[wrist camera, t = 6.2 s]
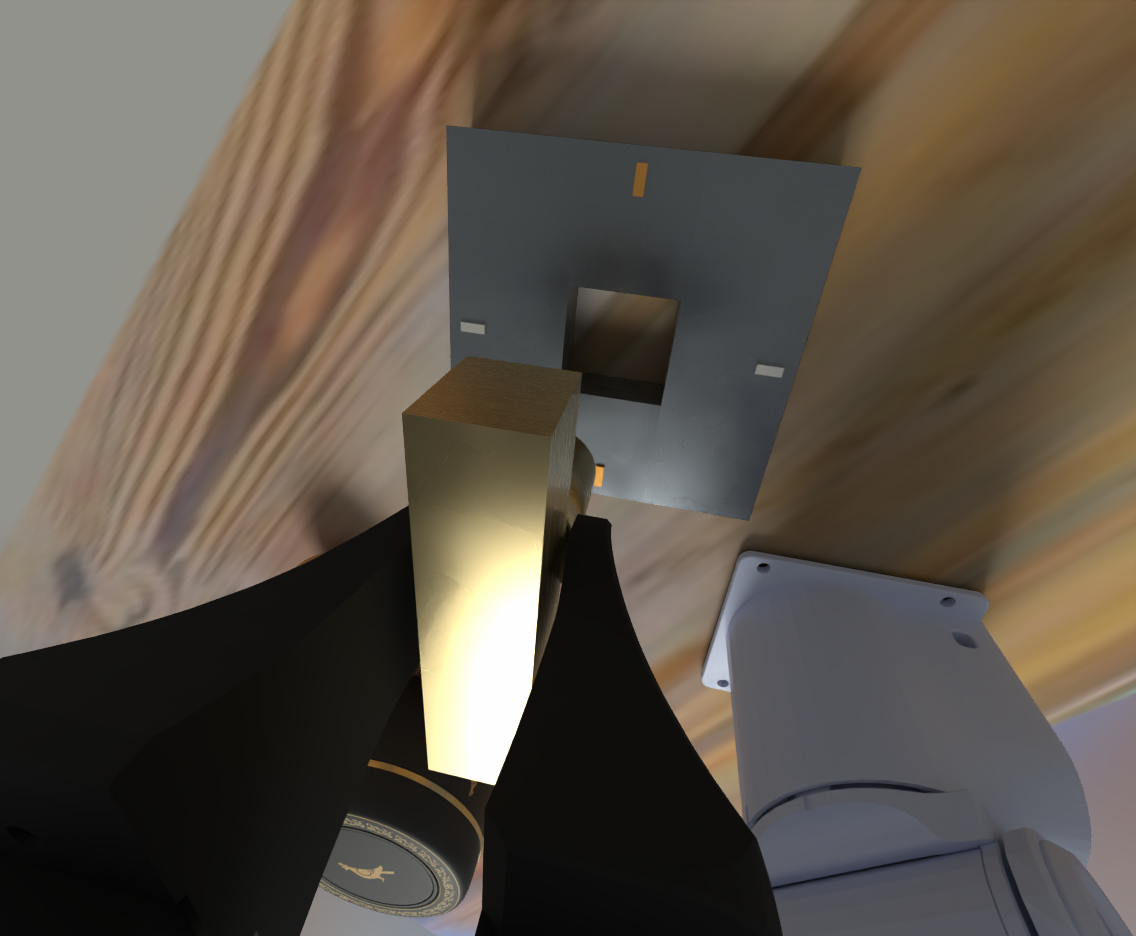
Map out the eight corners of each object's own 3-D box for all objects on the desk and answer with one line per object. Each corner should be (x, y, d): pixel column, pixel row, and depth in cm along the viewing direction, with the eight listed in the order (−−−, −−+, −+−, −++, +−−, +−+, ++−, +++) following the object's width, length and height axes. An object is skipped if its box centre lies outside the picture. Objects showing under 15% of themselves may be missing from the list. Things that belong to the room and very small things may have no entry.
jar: (545, 758, 32) (509, 912, 25) (426, 790, 36) (369, 930, 29) (435, 645, 29) (362, 788, 22) (319, 694, 33) (229, 827, 26)
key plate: (841, 167, 15) (862, 167, 14) (743, 491, 21) (749, 522, 19) (470, 129, 17) (445, 125, 15) (470, 445, 22) (452, 470, 20)
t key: (580, 591, 16) (532, 794, 11) (502, 576, 16) (419, 767, 11) (615, 321, 12) (567, 439, 7) (511, 307, 12) (387, 410, 7)
